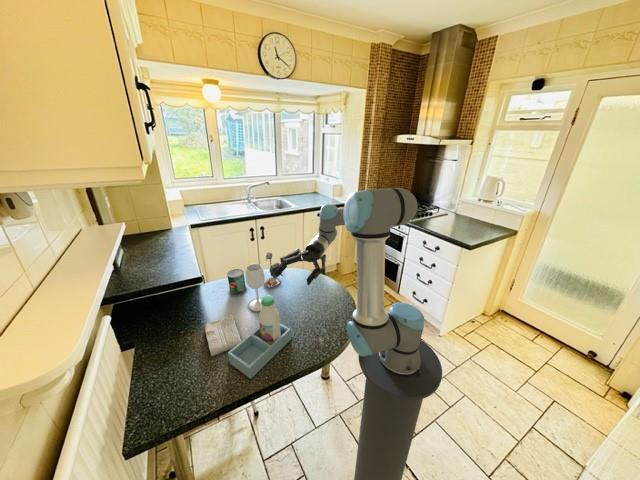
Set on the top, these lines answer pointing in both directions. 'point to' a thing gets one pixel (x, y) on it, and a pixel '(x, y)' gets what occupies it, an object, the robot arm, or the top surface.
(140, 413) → the top surface
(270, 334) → the milk bottle
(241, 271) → the canned tomato
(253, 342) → the divided tray
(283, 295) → the top surface
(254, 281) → the wineglass
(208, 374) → the top surface
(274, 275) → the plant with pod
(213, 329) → the washcloth
